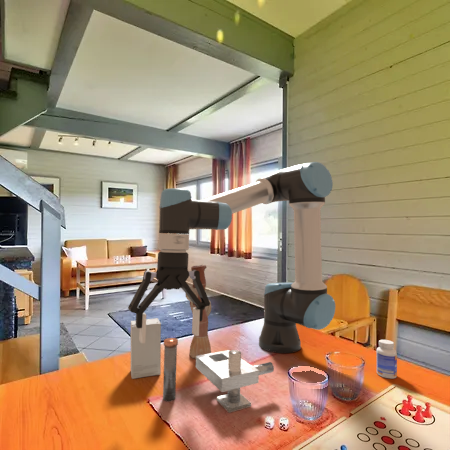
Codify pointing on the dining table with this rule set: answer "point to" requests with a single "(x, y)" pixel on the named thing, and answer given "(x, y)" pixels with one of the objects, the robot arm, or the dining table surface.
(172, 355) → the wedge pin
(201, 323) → the tan tall irregular piece
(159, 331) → the skincare box
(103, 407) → the dining table surface
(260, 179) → the robot arm
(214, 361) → the square pedestal tray
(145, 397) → the dining table surface
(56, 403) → the dining table surface
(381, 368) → the pill bottle
